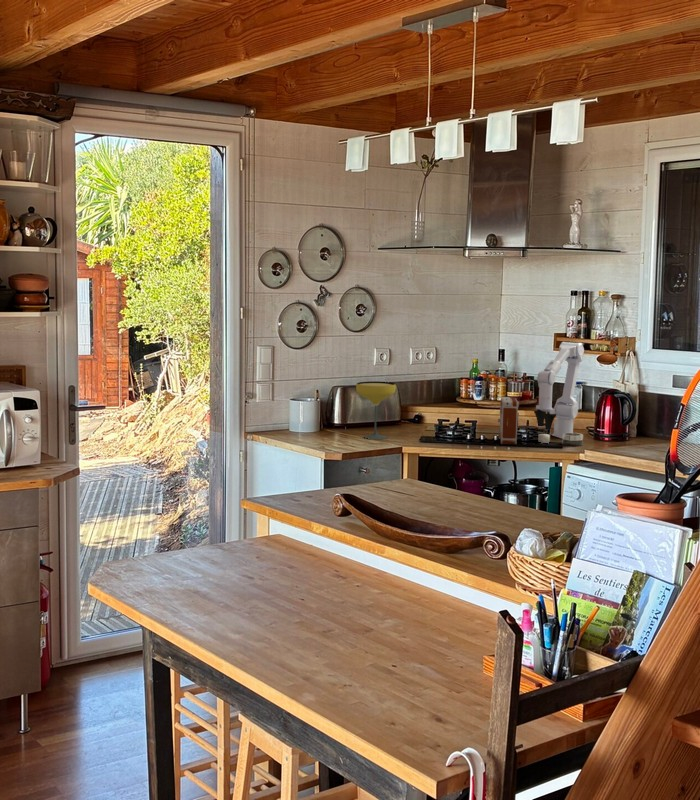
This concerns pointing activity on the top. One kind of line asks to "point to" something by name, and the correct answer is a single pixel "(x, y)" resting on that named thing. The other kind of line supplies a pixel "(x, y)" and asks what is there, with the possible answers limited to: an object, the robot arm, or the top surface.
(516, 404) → the cine camera
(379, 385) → the cocktail glass
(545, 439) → the lens cap
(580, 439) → the lens barrel
